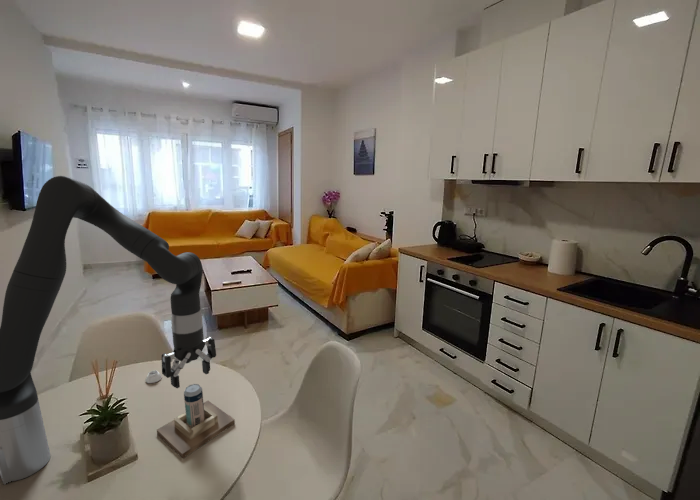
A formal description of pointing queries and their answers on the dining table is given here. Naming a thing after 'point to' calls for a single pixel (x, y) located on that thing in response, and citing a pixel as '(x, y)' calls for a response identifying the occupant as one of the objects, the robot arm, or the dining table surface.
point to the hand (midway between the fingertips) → (191, 379)
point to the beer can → (194, 405)
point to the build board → (195, 430)
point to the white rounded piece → (153, 376)
